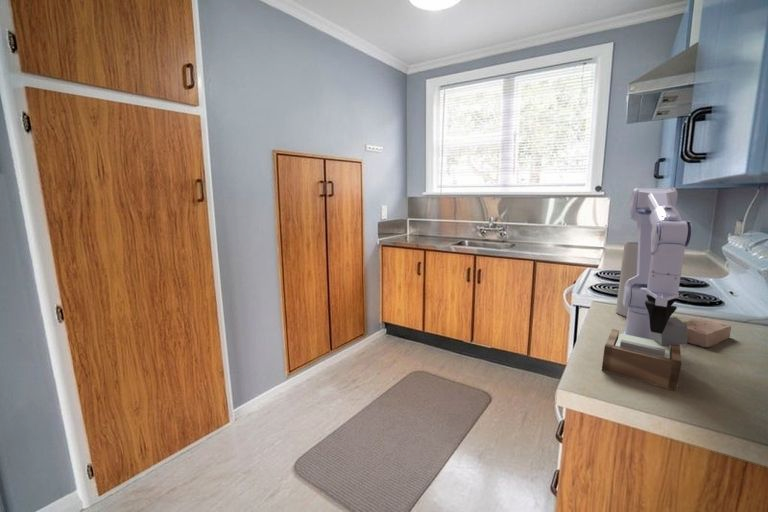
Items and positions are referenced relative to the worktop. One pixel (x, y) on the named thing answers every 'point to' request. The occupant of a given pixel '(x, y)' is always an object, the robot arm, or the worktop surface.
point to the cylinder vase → (627, 273)
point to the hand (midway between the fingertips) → (656, 328)
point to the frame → (642, 364)
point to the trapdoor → (643, 345)
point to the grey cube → (672, 333)
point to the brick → (706, 332)
